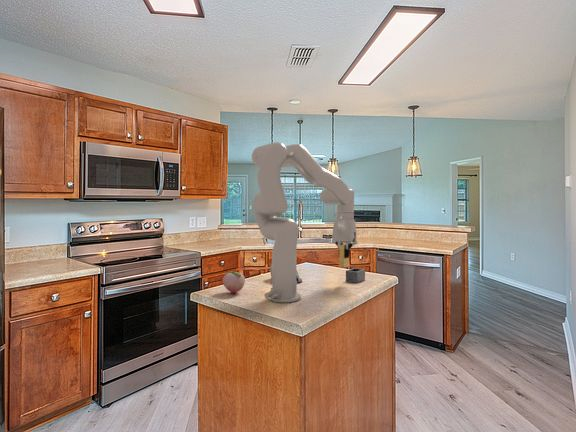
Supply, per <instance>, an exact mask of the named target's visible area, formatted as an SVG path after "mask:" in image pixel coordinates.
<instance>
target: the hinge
mask: <svg viewBox="0 0 576 432" xmlns="http://www.w3.org/2000/svg"><path fill="white" fill-rule="evenodd" d="M269 271H270V272H269V273H270V277H271V279H272V264H271V265H270V266H269ZM298 282H299V283H303V279H302V278H301V277H300V275H299V272H298V271H297V283H298Z"/></svg>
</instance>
